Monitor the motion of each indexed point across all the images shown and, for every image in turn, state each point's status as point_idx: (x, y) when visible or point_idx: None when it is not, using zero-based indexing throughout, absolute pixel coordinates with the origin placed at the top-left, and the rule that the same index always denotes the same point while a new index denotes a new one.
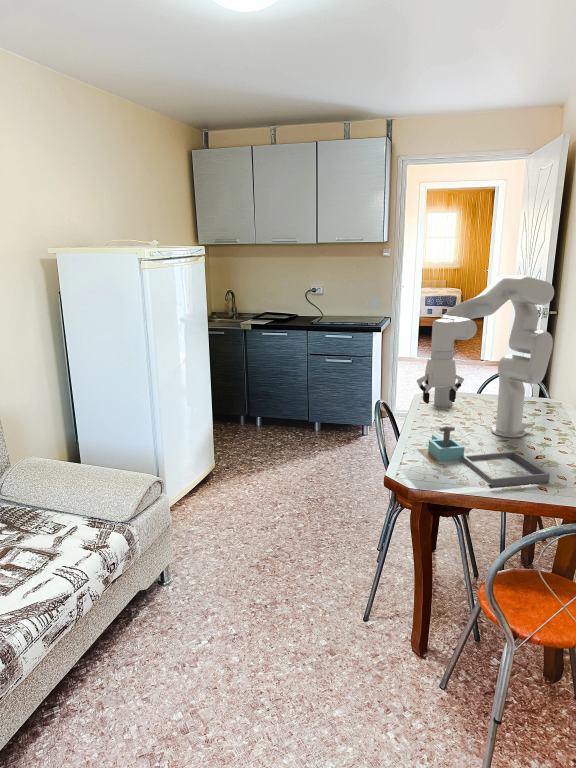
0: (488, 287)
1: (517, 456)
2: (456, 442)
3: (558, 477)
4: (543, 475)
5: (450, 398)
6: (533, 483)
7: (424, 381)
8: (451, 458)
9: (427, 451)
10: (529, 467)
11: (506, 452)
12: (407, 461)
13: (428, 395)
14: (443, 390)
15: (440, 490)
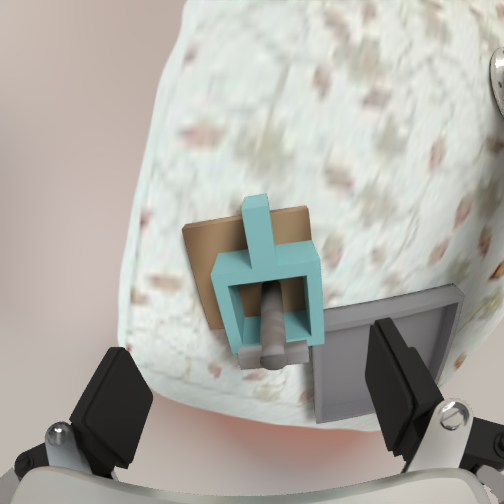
0: None
1: (452, 315)
2: (316, 304)
3: (456, 361)
4: None
5: (375, 361)
6: None
7: (22, 493)
8: None
9: (216, 249)
10: (438, 350)
11: (444, 303)
12: (150, 285)
13: (128, 451)
14: None
15: (212, 410)
